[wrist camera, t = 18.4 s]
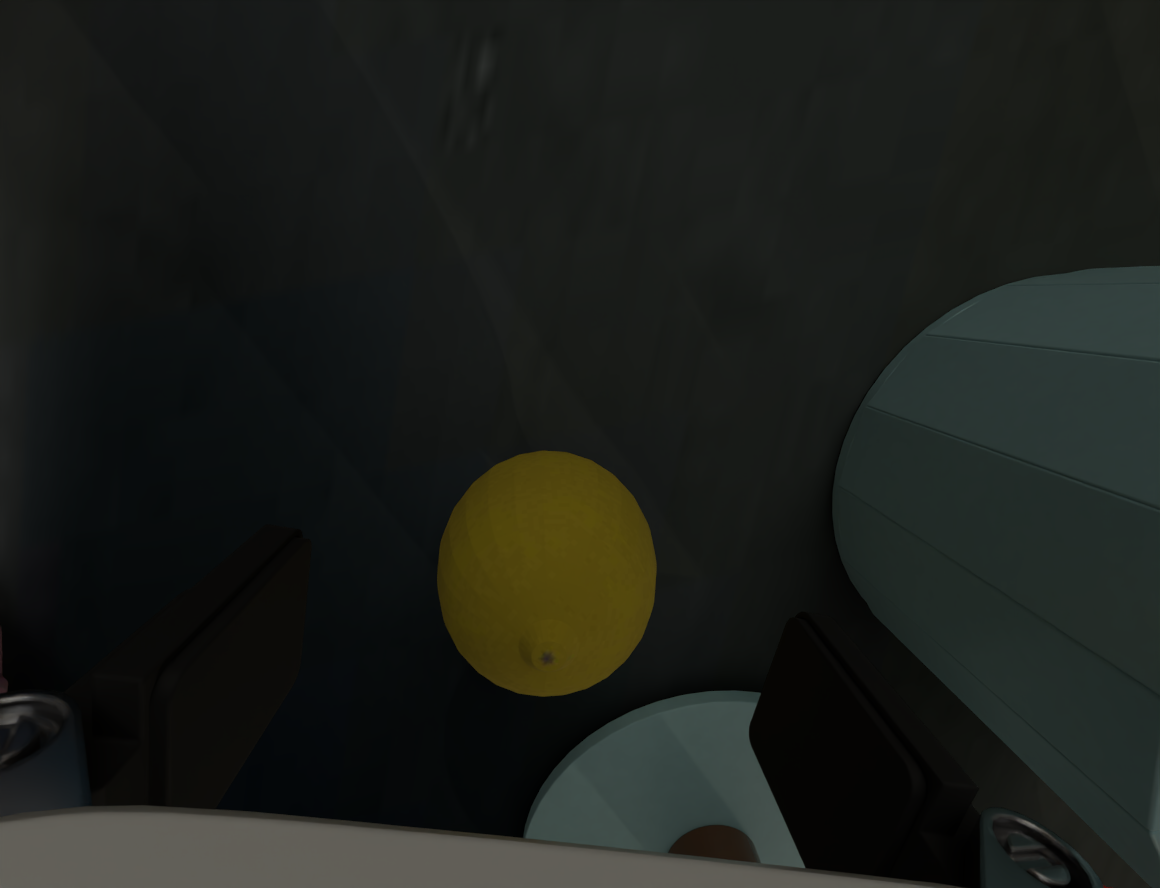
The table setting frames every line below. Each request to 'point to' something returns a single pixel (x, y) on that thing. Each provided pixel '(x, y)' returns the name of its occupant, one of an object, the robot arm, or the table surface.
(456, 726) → the table surface
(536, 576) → the lemon
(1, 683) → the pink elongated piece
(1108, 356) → the pot
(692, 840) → the lid
